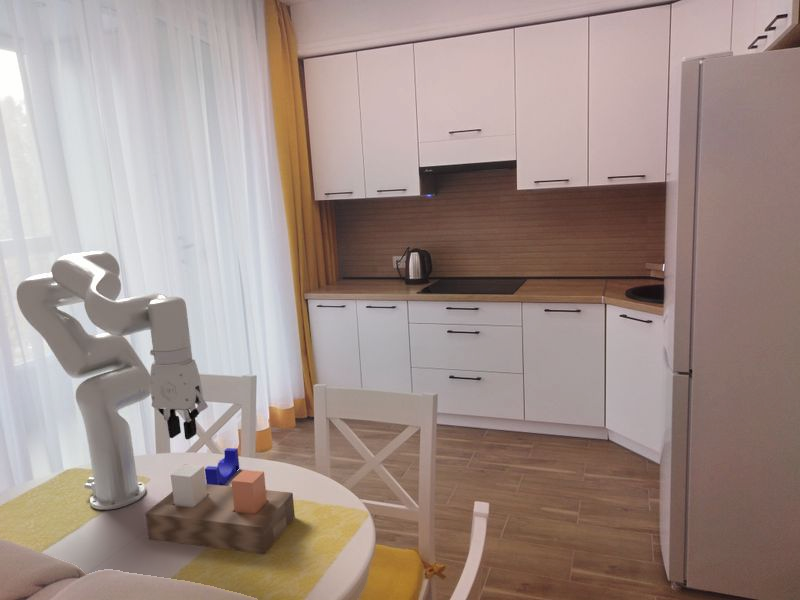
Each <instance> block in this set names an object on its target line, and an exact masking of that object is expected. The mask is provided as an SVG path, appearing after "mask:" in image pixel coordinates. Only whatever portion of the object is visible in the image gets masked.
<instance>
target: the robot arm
mask: <svg viewBox="0 0 800 600" xmlns="http://www.w3.org/2000/svg"><path fill="white" fill-rule="evenodd" d="M120 272H121V271H120V264H119V261H118V260H117V259H116V258H115V256H113V255H112V254H111V253H109V252H108V251H104V250H103V251H102V250H96V251H88V252H78V253H71V254H67V255H63V256H61V257H59V258H57V259H56V260H55V261H54V262H53V264H52V265H51V270H50V272H48V273H41V274H37V275H32V276H30V277H28V278H25V279H24V280H22V281H21V282H19V284H18V286H17V289H16V293H15V295H16V301H17V305H18V307H19V311H20V312H21V314H22V316H23V317H24V318H25V320H26V321H27V323H29V325H30V326H31V327H33V329H34V330H35V331H37V332H38V334H39V335H40V336H41V337H42V338H43V339H44V340H45V342H46V344H47V345H48V347H49V348H50V350H51V352H52V353H53V355H54V356H55V358H56V360H57V361H58V363H59V365H60V366H61V367H62V368H63V370H64V371H65V372H66V374H67V375H68V376H69V377H70V378H72V379H82V378H83V379H85V378H86V379H85V380H84V381H82V382H80V384H78V386H77V388H76V390H75V401H76V403H77V406H78V410H79V412H80V415H81V417H82V421H83V424H84V428H85V434H86V439H87V444H88V450H89V451H88V452H89V457H90V458H89V459H90V463H91V469H92V475H93V476H90V477H88V478H87V482H86V483H85V484H84V489H86V490H91V491H92V495H91V496H90V498H89V504H90V505H89V506H91V507H92V508H93V509H96V510H103V511H104V510H106V511H107V510H114V509H115V510H116V509H120V508H122V507H126V506H129V505H131V504H133V503H135V502H137V501H139V500H140V499H141V498H142V497H143V496H144V495H145V494H146V491H147V488H146V485H145V483H143V482H142V481H139V480H138V475H137V466H136V459H135V453H134V446H133V439H132V438H133V437H132V433H131V432H132V431H131V427H130V424H129V422H128V421H127V420H126V419H125V418H124V417H123V416H122V415H120V413H119V410H120V411H121V410H122V409H124V408H126V407H129V406H132V405H134V404H137V403H140V402H141V401H145V400H146V399H148V398H149V397H150V398H151V407H153V408H154V409H156V410H157V411H158V412H159V413H160V414H161V415H162V416H163V419H164V421H165V422H166V423H167V430H168V431H167V432H168V436H169V439H173V438H175V437H177V436H178V435H180V434H181V432H182V428H181V421H180V416H179V415H177V410H178V411H183V415H184V422H183V423H182V424H183V431H184V432H183V433H184V439H185V440H190V439H192V438H193V437H195V436H196V435H197V430H198V429H197V423H196V418H198V415H199V414H200V413H201V412H203V411H204V410H206V409H207V408H208V406H209V405H208V404H207V402H206V400H205V399H204V397H203V395H204V394H203V387H202V382H201V381H202V380H201V377H200V372H199V369H198V365H197V363H196V359H193V353H192V343H191V336H190V326H189V321H188V320H189V319H188V310H187V305H186V302H185V300H184V298H182V297H179V296H167V295H164V294H162V293H150V294H149V293H148V294H143V295H138V296H137V295H136V296H132V297H128V298H122V299H118V298H119V296H120V294H121V291H122V283H121V279H120V278H119V276H120ZM79 303H83V304H84V310H85V313H86V314H87V317H88V319H89V320H90V322H91V323H92V324H93V325H94V326H96V327H97V328H99V329H100V330H102V331H103V333H98V334H95V335H94V334H93V335H92V334H88V332H87V331H86V330H85V329H84V327H83V325H82V323H80V321H79V320H77V318H75V317H74V316H73V315H71V314H69V313H67V312H65V311H62V310H61V309H58V308H57V307H63V306H68V305H70V306H71V305H73V304H79ZM149 330H150V337H151V344H152V349H150V352H149V354H150V356H152V357H153V360H154V361H153V362H151V367H150V373H149V371H148V369H147V367H146V365H145V364H144V363H143V361H142V360H141V358H140V357H139V355H138V354H137V352H136V351H135V349H134V348H133V346H132V345H131V343H130V342H129V341H128V339H127V338H126V336H128V335H132V334H136V333H141V332H145V331H149ZM87 377H88V378H87ZM196 405H197V406H196Z"/></svg>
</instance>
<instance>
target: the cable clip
mask: <svg viewBox="0 0 800 600" xmlns="http://www.w3.org/2000/svg"><path fill="white" fill-rule="evenodd" d="M239 468H240V461H239V452H238V448H236V447H234V448H231V447H227V448H226V449H224V458H222V459H221V460H219V462H217V466H214V465H213V466H212V465H211V466H210V465H208V466H206V467H204V472H205V480H206V484H211V485H221V486H226V484H227V483H228V482H229V481H230V480H231V479H232V477H233V476H235V474H236V473H238V471H239V470H240V469H239ZM238 469H239V470H238ZM237 470H238V471H237ZM228 480H229V481H228ZM227 481H228V482H227ZM226 482H227V483H226Z"/></svg>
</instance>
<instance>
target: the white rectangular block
mask: <svg viewBox="0 0 800 600" xmlns="http://www.w3.org/2000/svg"><path fill="white" fill-rule="evenodd" d="M170 480H171V487H172V488H171V489H172V492H173V497H174V505H176V506H185V507H194V508H195V507H196V506H197V505H198V504H199V503H200V502H201V501H203V500H204V499H205V498H206V497H207V489H206V475H205V466H204V465H196V464H195V465H194V464H184V465H182V466H181V467H179V468H178V469H176V470H175V471H174V472H172V473H171V474H170Z"/></svg>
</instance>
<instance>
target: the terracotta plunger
mask: <svg viewBox="0 0 800 600" xmlns="http://www.w3.org/2000/svg"><path fill="white" fill-rule="evenodd" d="M231 487H232V492H233V501H234V510H235V512H237V513H246V514H255V515H256V514H257V513H258V512H259V511H260V510H261V509H262V508H263V507H264V506H265V505H266V504H267V497H266V490H267V489H266V478H265V471H259V470H249V469H243V470H241V471H240V472H239V473H238V474H237V475H236V476H235V477H234V478H233V479H231Z"/></svg>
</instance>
